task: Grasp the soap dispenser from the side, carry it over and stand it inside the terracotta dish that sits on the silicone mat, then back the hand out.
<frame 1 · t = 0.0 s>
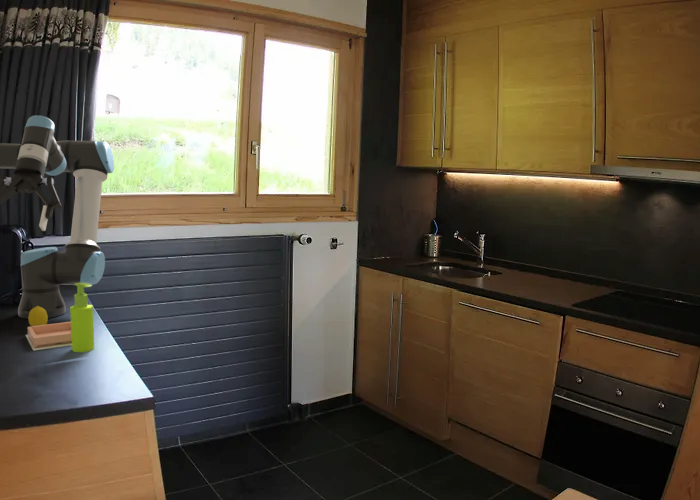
hand: (16, 228, 169), 36 cm above the counter, tool tilted 35°, fingers open, 13 cm apart
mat: (56, 340, 189), on the counter
dish: (56, 338, 189), resting on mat
lemon: (38, 330, 200), on the counter
soap dispenser: (84, 351, 180), on the counter
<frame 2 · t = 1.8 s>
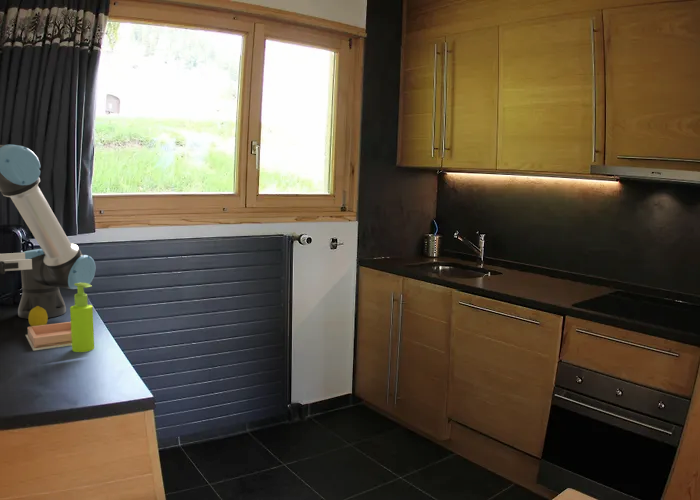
hand: (28, 260, 175), 26 cm above the counter, tool horizontal, fingers open, 13 cm apart
nothing on the counter moved.
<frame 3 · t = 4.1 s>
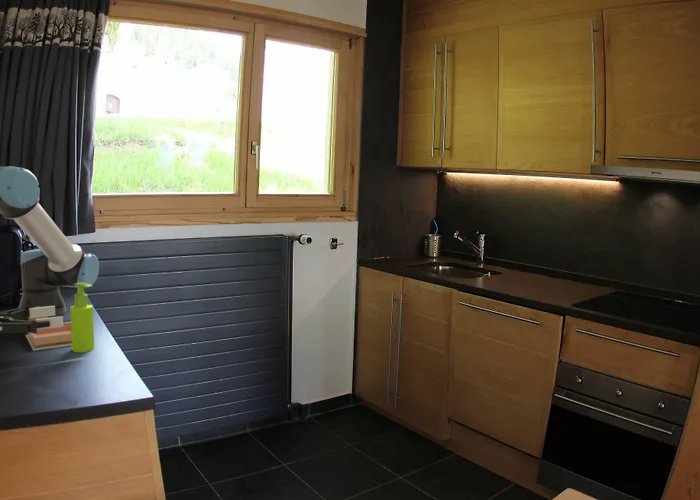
hand: (59, 315, 174), 11 cm above the counter, tool horizontal, fingers open, 13 cm apart
nothing on the counter moved.
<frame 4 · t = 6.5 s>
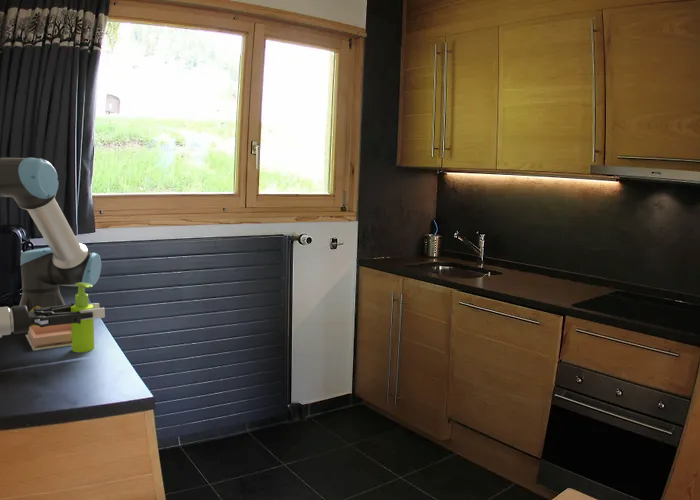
hand: (101, 310, 181), 12 cm above the counter, tool horizontal, fingers closed on soap dispenser, 6 cm apart
soap dispenser: (84, 351, 180), on the counter, touching gripper
everything else where it was.
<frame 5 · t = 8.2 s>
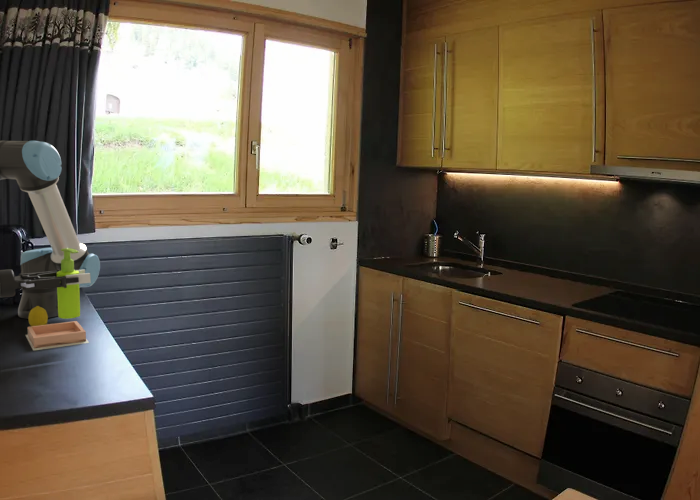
hand: (87, 275, 183), 21 cm above the counter, tool horizontal, fingers closed on soap dispenser, 6 cm apart
soap dispenser: (70, 316, 182), point 9 cm above the counter, touching gripper
everything else where it was.
when the fingers open (14 cm above the counter, at t = 10.3 s): soap dispenser drops 2 cm, resting on dish.
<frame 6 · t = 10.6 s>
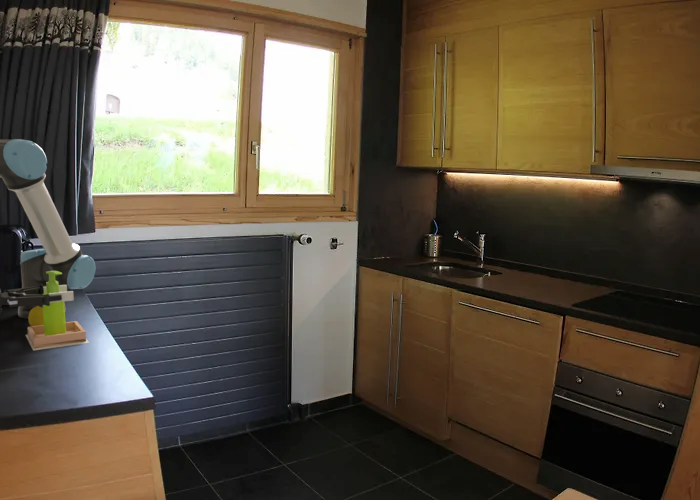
hand: (69, 292, 189), 14 cm above the counter, tool horizontal, fingers open, 10 cm apart
soap dispenser: (56, 336, 189), point 1 cm above the counter, touching dish
everything else where it was.
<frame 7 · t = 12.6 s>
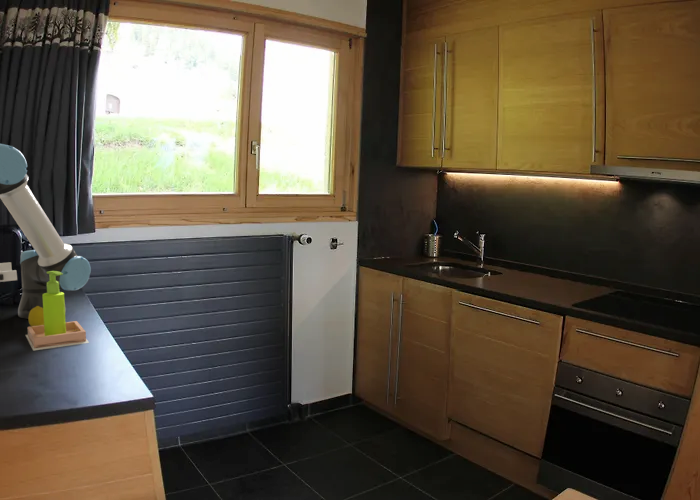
hand: (14, 270, 180), 22 cm above the counter, tool horizontal, fingers open, 13 cm apart
nothing on the counter moved.
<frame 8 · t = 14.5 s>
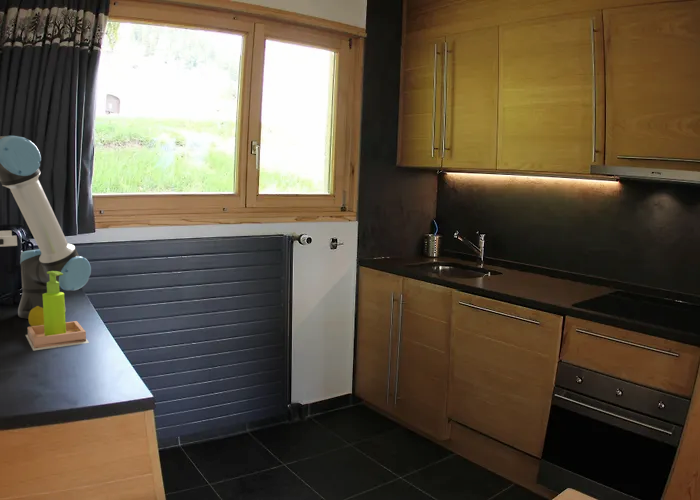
hand: (14, 237, 179), 32 cm above the counter, tool horizontal, fingers open, 13 cm apart
nothing on the counter moved.
at the end: soap dispenser inside the target area on the dish (0.3 cm from its centre), point 0.6 cm above the dish's base; soap dispenser tilted 0°; the gripper is holding nothing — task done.
